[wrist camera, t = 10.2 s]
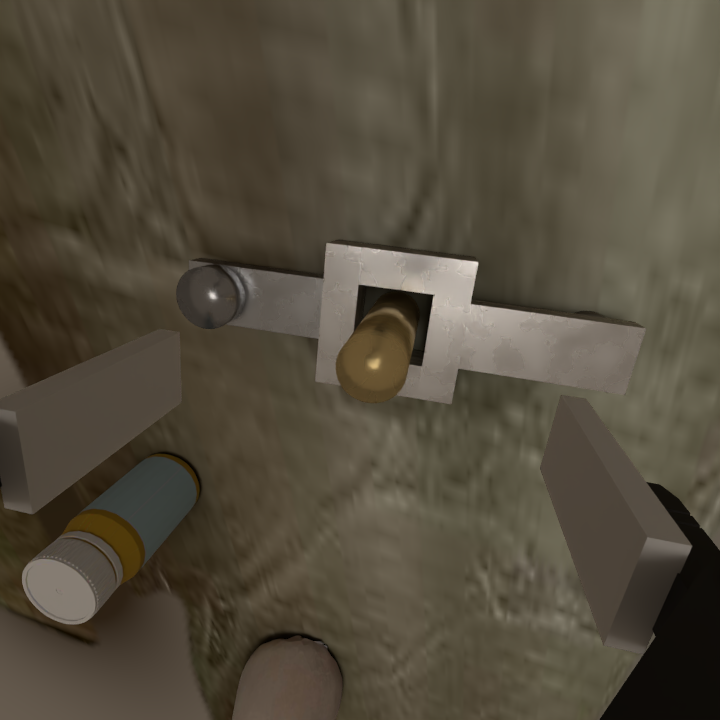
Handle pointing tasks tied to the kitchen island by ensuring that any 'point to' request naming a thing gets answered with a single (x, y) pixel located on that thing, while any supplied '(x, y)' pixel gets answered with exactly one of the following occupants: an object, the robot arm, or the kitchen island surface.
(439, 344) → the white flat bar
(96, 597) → the bottle
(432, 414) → the kitchen island surface
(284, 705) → the sculpture
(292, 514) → the kitchen island surface
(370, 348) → the pin
